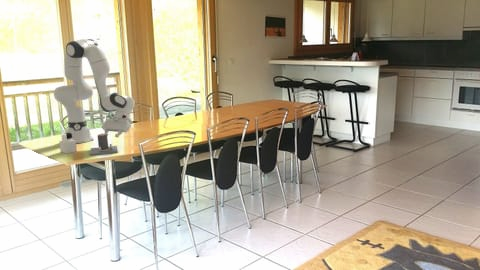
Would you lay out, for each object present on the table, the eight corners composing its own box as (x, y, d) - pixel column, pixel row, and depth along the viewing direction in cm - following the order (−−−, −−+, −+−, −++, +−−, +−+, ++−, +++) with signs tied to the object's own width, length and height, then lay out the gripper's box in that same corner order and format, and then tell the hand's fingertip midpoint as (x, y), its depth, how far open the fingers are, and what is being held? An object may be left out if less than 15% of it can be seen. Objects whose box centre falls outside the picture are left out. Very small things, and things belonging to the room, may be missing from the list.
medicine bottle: (71, 150, 271) (68, 131, 269) (77, 151, 267) (74, 132, 264) (60, 152, 266) (58, 133, 263) (66, 153, 261) (64, 134, 259)
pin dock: (90, 149, 270) (90, 143, 269) (116, 147, 275) (116, 141, 274) (90, 155, 255) (89, 149, 254) (117, 152, 260) (117, 146, 259)
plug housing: (98, 149, 264) (97, 134, 262) (103, 148, 267) (102, 133, 265) (103, 150, 262) (102, 135, 260) (108, 148, 266) (106, 133, 264)
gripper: (105, 115, 278) (95, 132, 272) (129, 116, 269) (120, 134, 262) (111, 120, 283) (101, 138, 276) (134, 122, 273) (125, 140, 267)
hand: (110, 136), depth 269 cm, fingers open, 8 cm apart
